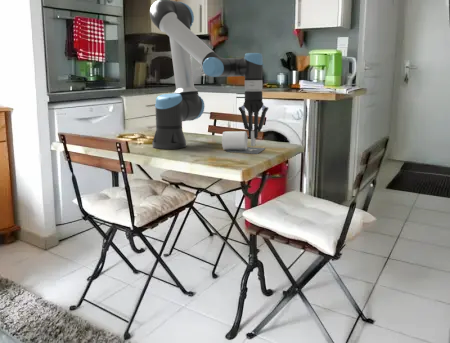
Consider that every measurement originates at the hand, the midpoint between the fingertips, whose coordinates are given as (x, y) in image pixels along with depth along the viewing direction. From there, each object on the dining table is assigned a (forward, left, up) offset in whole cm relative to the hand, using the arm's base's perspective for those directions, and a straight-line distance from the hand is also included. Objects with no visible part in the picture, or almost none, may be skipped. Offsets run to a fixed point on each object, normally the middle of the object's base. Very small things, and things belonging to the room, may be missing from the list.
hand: (253, 145), depth 195 cm
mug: (-8, 0, -2) cm, 8 cm away
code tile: (-3, 0, -2) cm, 4 cm away
